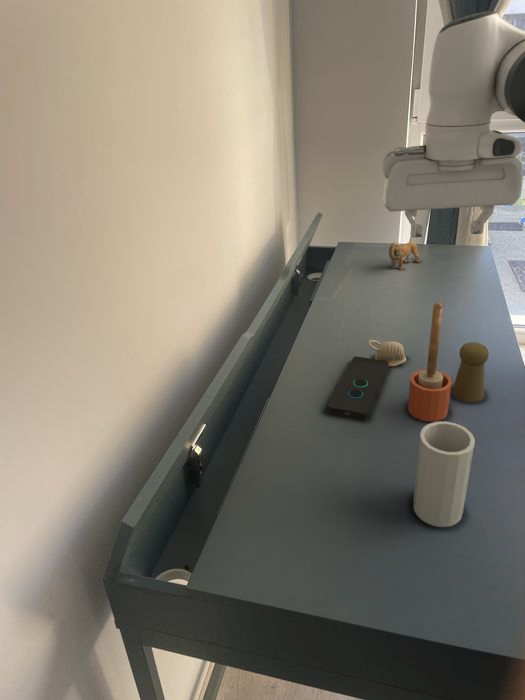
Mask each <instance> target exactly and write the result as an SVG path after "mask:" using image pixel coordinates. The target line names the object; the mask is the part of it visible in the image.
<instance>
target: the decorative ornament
mask: <svg viewBox="0 0 525 700" xmlns="http://www.w3.org/2000/svg"><path fill="white" fill-rule="evenodd" d="M371 343H374V344H376V345H377V347H375V346H373V345H372V344H371ZM367 344H368V346H369V348H370V349H372V350H373V351H376V354H375V356H374V359H377V360H383V361H388V362H389V367H397V366H400V365H402V364H404V363H406V361H407V357H406V355H405V348H404V346H403V345H402V344H401V343H400V342H397V341H390V340H389V341H388V340H387V341H383V342H381V343H380V342H379V341H378V340H375V339H369V340H368V341H367Z"/></svg>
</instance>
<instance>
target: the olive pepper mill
mask: <svg viewBox="0 0 525 700" xmlns="http://www.w3.org/2000/svg"><path fill="white" fill-rule="evenodd" d="M489 354H490V353H489V349H488V348H487V346H486V345H484V344H483V343H481V342H476V341H475V342H473V341H471V342H466V343H464V344H463V345H462V346H461V347H460V349H459V358H460V363H459V366H458V370H457V373H456V378H455V380H454V383H453V387H452V389H451V394H452V395H453V397H454V398H455V399H457V400H459V401H461V402H465V403H478V402H480V401H482V400H483V399H484V398H485V363H487V361H488V359H489Z"/></svg>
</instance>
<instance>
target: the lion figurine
mask: <svg viewBox="0 0 525 700" xmlns="http://www.w3.org/2000/svg"><path fill="white" fill-rule="evenodd" d="M410 254H412V255H413V256H414V258H415V260H414V261H415V262H416V263H419V262H420V254H419V251H418V245H417V244H416V242H414V241H411V242H407V243H405V244H403V245H402V244H401V243H399V242H398V241H395V242H392V243H391V244H390V245H389V246H388V257H389V259H390V260H391V264H392V265H390V268H391V269H394V268H395V267H396V262H398V261H399V264H398V270H403V268H404V267H403V263H407V262H408V260H409V259H410V256H411V255H410ZM404 258H405V259H404Z"/></svg>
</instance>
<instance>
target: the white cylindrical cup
mask: <svg viewBox="0 0 525 700" xmlns="http://www.w3.org/2000/svg"><path fill="white" fill-rule="evenodd" d="M475 443H476V439H475V437H474V435H473V433H472V432H471V431H470V430H468V428H466V427H465V426H462V425H460V424H458V423H455V422H451V421H433V422H431V423H427V424H426V425H425V426H423V427H422V428H421V430H420V433H419V439H418V450H417V459H416V460H417V461H416V470H415V471H416V472H415V481H414V491H413V498H412V499H413V500H412V501H413V503H412V505H413V511H414V513H415V514H416V516H417V517H418V518H419V519H420V520H421V521H422V522H424V523H426V524H428V525H430V526H433V527H437V528H447V527H452V526H454V525H455V526H456V524H458V523H459V522H460V521H461V520H462V519H463V515H464V510H465V509H464V508H465V502H466V496H467V491H468V484H469V479H470V473H471V467H472V461H473V455H474V449H475Z"/></svg>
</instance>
